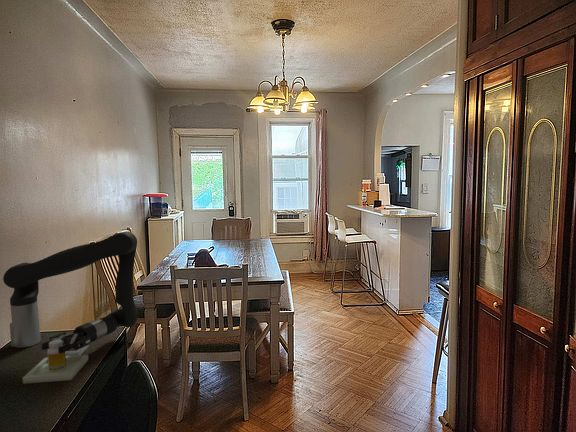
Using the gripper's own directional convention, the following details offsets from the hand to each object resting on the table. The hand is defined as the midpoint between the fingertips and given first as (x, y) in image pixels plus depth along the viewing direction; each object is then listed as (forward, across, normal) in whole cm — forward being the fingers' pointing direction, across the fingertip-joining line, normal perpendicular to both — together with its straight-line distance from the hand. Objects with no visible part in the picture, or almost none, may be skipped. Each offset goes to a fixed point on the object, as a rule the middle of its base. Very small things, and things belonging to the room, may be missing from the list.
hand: (50, 348), depth 135 cm
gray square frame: (-15, -10, +9) cm, 20 cm away
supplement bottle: (-2, 0, +8) cm, 8 cm away
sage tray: (-2, 0, +9) cm, 9 cm away
